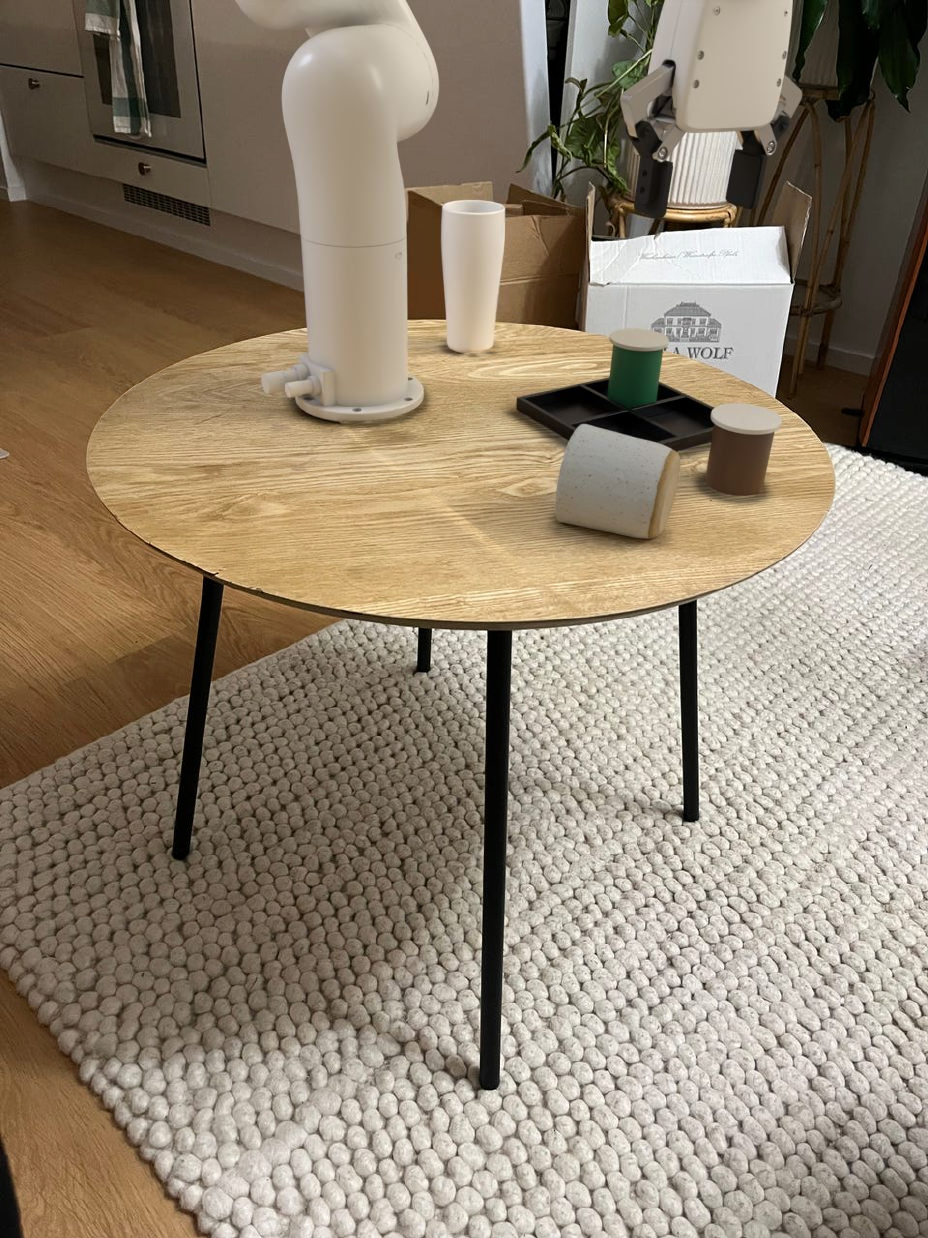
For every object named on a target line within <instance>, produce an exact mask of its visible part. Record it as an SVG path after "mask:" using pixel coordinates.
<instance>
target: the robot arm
mask: <svg viewBox="0 0 928 1238" xmlns="http://www.w3.org/2000/svg"><path fill="white" fill-rule="evenodd" d="M793 1H794V0H664V2H663V5H662V7H661V12H660V16H659V20H658V24H657V28H656V32H655V36H654V40H653V45H652V51H651V56H650V60H649V66H648V71H647V75H646V76H644V77H643V78H642V79H640V80H639V81H637V82H636V83H635V84H633V85H632V86H630V87H629V88H627V89H626V90H625V91H624V92H622V93H621V94H620V98H619V103H620V108H621V111H622V116H623V119H624V120H623V121H624V123H625V128H624V131H625V134H626V136H627V137H628V139H629V141H630V142H631V144H632V145H633V153H634V155H636V156H638V157H639V163H638V171H637V178H636V183H635V185H636V186H635V192H634V199H633V209H634V211H635V212H637V213H640V214H643V215H646V216H648V217H652V218H654V219H663V218H665V216H667V215H666V214H667V210H668V205H669V199H670V191H671V185H672V180H673V179H672V178H673V173H674V162H673V161H670V160H668V159H669V157H670V156H671V154H672V153H673V151H674V150H675V149H676V147H677V146H678V144H679V143H680V142H681V140H683V137H684V136H685V135H686V133H687V134H706V133H707V134H708V133H709V134H710V133H730V132H736V136H737V139H738V141H739V144H740V146H741V148H742V149H741V148H735V149H734V151H733V152H734V153H733V155H732V160H731V165H730V171H729V176H728V182H727V186H726V187H727V188H726V192H725V197H724V199H725V200H726V202H727V203H728V204H731V205H735V206H737V207H741V208H744V209H747V210H755V209H757V208H758V207H759V204H760V203H759V202H760V199H761V193H762V188H763V184H764V178H765V173H766V168H767V164H768V159H769V156H772V155H773V154H774V153H775V152H776V150H777V146H778V141H779V140H780V139H781V137H782V136H783V135H784V134H785V133H786V132H787V130H788V129H789V127H790V123H791V119H792V117H793V115H795V112H796V111H797V108H798V106H799V104H800V103H801V101H802V99H803V90H801V88H800V87H799V86H798V85H796V83H794V82H793V81H792V79H790V77H788V76H787V75H786V74H785V72H786V66H787V59H788V52H789V45H790V38H791V37H790V36H791V28H792V17H793V3H794V2H793ZM234 2H235V3H236V4H237V6H238V7H239V9H240V11H242V13H243V14H244V16H246V18H248V19H249V20H250V21H252V22H253V23H254V24H256V25H257V26H260V27H262V28H265V29H269V30H273V31H294V30H295V31H296V30H305V32H306V34H307V35H308V37H309V38H308V39H307V40H306V41H305V42H303V43H302V44H301V45H300V46H299V47H298V48H297V50H296V51H295V52H294V54H293V55H292V57H291V58H290V60H289V62H288V64H287V66H286V70H285V73H284V77H283V80H282V87H281V108H282V110H281V111H282V118H283V124H284V128H285V133H286V137H287V142H288V146H289V147H288V148H289V151H290V155H291V160H292V165H293V166H292V167H293V171H294V178H295V186H296V196H297V206H298V208H297V209H298V218H299V219H298V220H299V233H300V245H301V258H302V261H301V262H302V275H303V289H304V290H303V291H304V292H303V293H304V306H305V320H306V336H307V337H306V338H307V352H304V353H299V354H298V363H297V364H293V365H292V366H291V368H290V369H288V370H275V371H270V372H264V373H262V374H261V376H260V383H261V387H262V390H263V392H264V393H265V395H269V394H270V395H271V394H275V393H280V392H285V395H286V397H287V398H288V399H291V398H295V403H296V405H297V406H298V408H300V409H301V410H302V411H303V412H305V413H306V414H308V415H310V416H313V417H316V418H319V419H322V420H327V421H331V422H338V423H339V422H340V421H351V422H352V421H354V422H355V421H356V422H364V421H378V420H384V419H385V420H386V419H390V418H394V417H399V416H402V415H404V414H408V413H409V412H412V411H413V410H415V409H416V408H418V407H419V406H420V405H421V404H422V403H423V401H424V398H425V389H424V386H423V384H422V382H420V381H419V380H418V379H417V378H416V377H414V376H412V375H411V374H409V363H408V362H409V354H408V353H409V347H408V345H409V344H408V343H409V342H408V340H409V339H408V337H409V335H408V333H409V331H408V329H409V328H408V324H409V323H408V239H407V238H408V234H407V205H406V201H407V200H406V191H405V184H404V183H405V182H404V178H403V173H402V167H401V162H400V157H399V150H398V143H399V142H402V141H404V140H407V139H409V138H412V137H413V136H414V135H416V134H417V133H419V132H420V131H422V129H424V128H425V126H426V125H427V124H428V123H429V121H430V120H431V118H432V117H433V114H434V113H435V110H436V107H437V104H438V100H439V93H440V79H439V72H438V66H437V63H436V60H435V57H434V54H433V51H432V49H431V47H430V44H429V43H428V40H427V39H426V37H425V34H424V32H423V31H422V29H421V27H420V24H419V23H418V21H417V19H416V17H415V15H414V13H413V12H412V10H411V7H410V6H409V4H408V2H407V0H234Z"/></svg>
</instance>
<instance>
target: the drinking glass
mask: <svg viewBox="0 0 928 1238" xmlns="http://www.w3.org/2000/svg"><path fill="white" fill-rule="evenodd" d="M440 223H441V224H440V250H441V266H442V279H443V280H442V281H443V294H444V307H445V308H444V310H445V325H446V333H445V335H446V336H445V337H446V344H447V347H448V348H449V349H450V350H451V351H454V352H456V353H459V354H467V353H472V352H474V353H475V352H483V351H487V350H490V349H492V348H493V347H494V344H495V331H496V330H495V328H496V320H497V311H498V303H499V295H500V286H501V278H502V271H503V262H504V255H505V254H504V253H505V245H506V244H505V243H506V207H505V206H504V205H503V204H501V203H498V202H495V201H489V200H481V199H461V200H460V199H459V200H453V201H448V202H446V203H444V204H443V205H442V206H441V221H440Z"/></svg>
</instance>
